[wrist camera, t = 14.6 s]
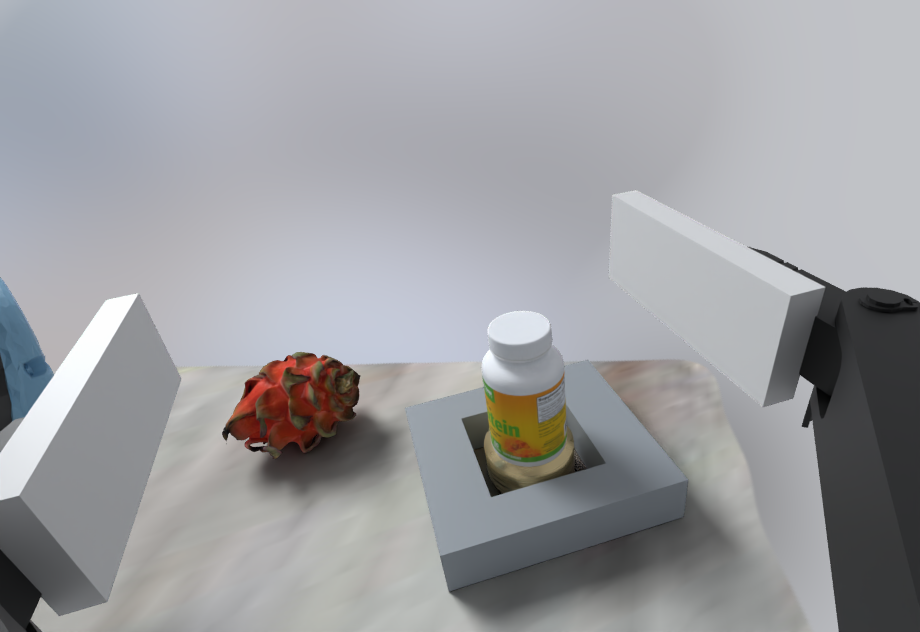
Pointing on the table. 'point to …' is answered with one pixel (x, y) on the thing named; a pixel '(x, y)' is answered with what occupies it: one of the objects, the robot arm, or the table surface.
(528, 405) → the supplement bottle
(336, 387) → the dragon fruit
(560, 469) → the plunger disc
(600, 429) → the socket plate
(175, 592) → the table surface
